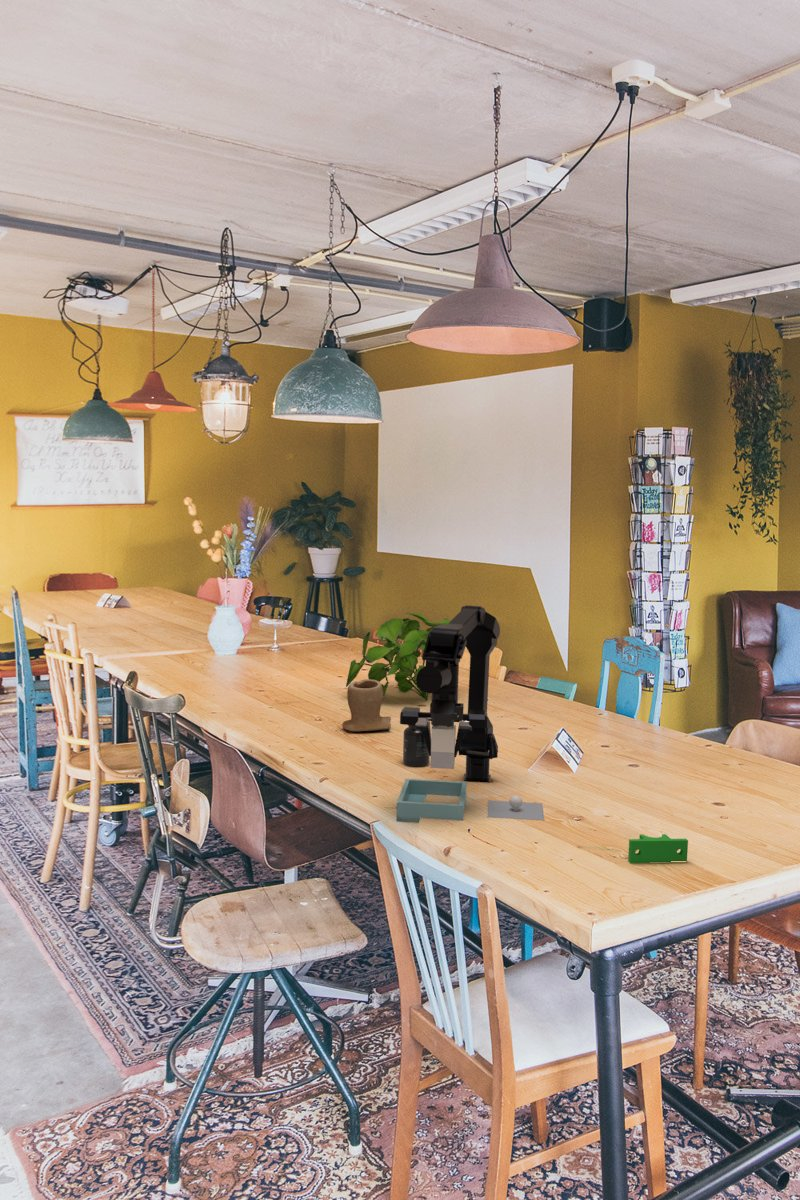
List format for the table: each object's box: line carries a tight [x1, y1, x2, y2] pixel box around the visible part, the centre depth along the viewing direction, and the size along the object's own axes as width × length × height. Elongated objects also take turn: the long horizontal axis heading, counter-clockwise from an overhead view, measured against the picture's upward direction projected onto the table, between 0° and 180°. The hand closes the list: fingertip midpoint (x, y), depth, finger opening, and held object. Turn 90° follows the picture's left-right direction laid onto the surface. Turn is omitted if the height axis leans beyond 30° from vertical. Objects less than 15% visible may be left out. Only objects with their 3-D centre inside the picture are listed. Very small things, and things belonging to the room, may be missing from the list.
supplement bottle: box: [402, 725, 431, 768], centre depth 252 cm, size 7×7×12 cm
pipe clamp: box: [627, 833, 689, 864], centre depth 188 cm, size 11×4×5 cm, turn 96°
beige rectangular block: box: [430, 724, 457, 770], centre depth 213 cm, size 5×5×9 cm
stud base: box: [486, 794, 545, 821], centre depth 213 cm, size 12×12×4 cm
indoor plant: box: [345, 612, 452, 701], centre depth 335 cm, size 44×42×30 cm
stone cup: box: [341, 678, 392, 732], centre depth 287 cm, size 15×12×15 cm
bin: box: [395, 778, 468, 823], centre depth 215 cm, size 18×14×4 cm
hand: (442, 756), depth 213 cm, fingers closed on beige rectangular block, 5 cm apart
